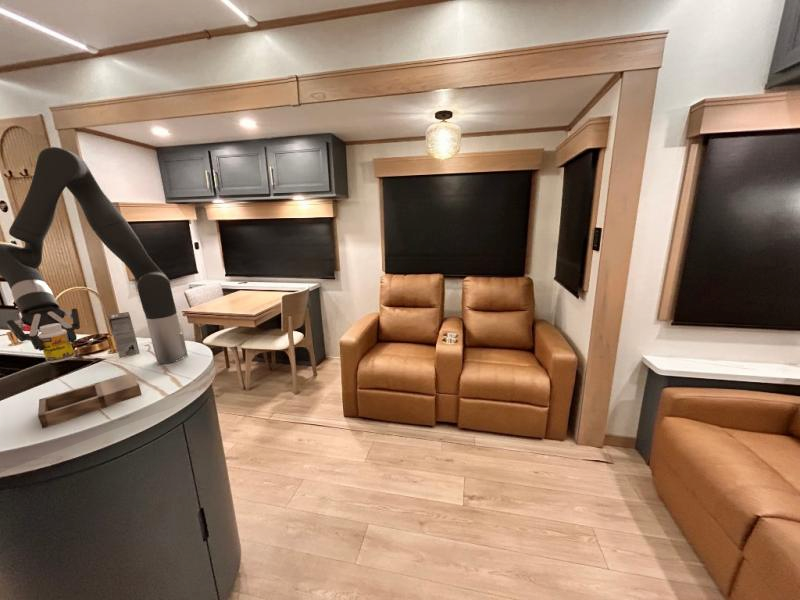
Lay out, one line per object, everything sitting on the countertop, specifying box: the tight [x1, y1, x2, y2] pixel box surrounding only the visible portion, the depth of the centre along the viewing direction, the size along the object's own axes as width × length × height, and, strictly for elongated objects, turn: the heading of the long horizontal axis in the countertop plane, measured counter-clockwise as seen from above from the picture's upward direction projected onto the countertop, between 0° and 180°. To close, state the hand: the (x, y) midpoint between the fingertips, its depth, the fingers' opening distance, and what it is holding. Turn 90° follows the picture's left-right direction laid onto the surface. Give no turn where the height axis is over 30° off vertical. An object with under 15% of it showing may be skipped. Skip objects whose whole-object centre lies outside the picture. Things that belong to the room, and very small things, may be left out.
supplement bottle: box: [38, 323, 75, 364], centre depth 89 cm, size 6×6×10 cm
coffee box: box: [107, 311, 140, 359], centre depth 126 cm, size 9×6×16 cm
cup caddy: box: [37, 372, 143, 429], centre depth 91 cm, size 20×12×4 cm, turn 137°
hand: (57, 344), depth 88 cm, fingers closed on supplement bottle, 5 cm apart
